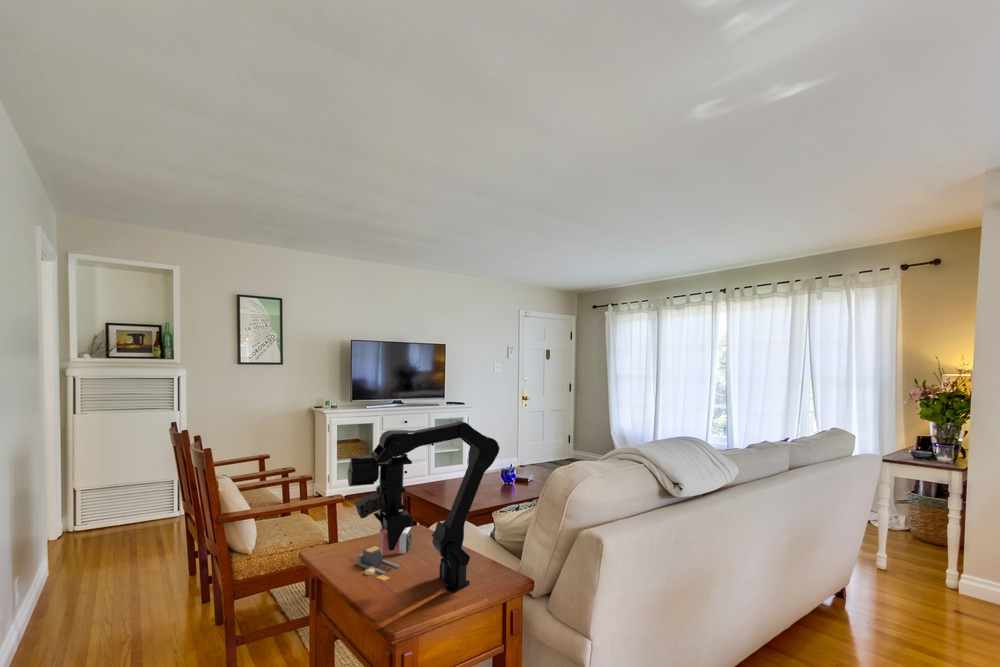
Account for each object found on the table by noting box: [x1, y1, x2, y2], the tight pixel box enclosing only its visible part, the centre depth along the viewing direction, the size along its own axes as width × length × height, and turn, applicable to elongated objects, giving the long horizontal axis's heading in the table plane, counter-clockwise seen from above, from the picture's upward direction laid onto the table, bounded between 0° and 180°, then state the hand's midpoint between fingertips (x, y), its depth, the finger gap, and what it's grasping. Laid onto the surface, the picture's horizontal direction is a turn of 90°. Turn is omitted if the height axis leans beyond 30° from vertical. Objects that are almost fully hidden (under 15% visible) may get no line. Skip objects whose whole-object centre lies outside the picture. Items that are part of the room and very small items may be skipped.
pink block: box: [378, 528, 400, 556], centre depth 122 cm, size 4×4×5 cm
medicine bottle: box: [398, 526, 413, 555], centre depth 149 cm, size 7×7×12 cm
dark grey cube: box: [362, 545, 384, 568], centre depth 138 cm, size 4×4×4 cm
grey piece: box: [357, 553, 401, 582], centre depth 134 cm, size 15×9×4 cm, turn 55°
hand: (389, 547), depth 122 cm, fingers closed on pink block, 4 cm apart
